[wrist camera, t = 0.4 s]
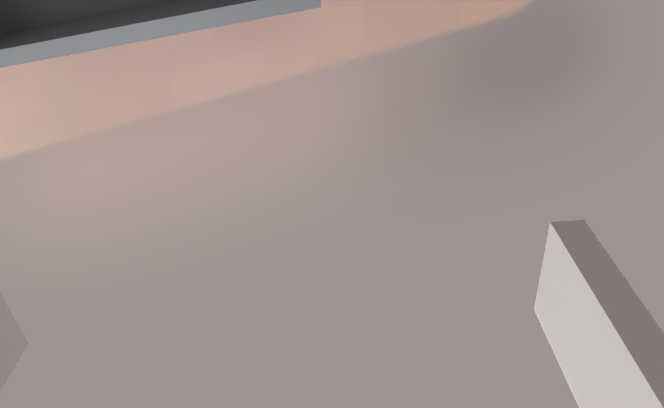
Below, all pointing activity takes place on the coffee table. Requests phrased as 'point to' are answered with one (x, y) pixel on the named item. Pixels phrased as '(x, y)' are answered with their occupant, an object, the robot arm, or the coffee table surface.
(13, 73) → the coffee table surface
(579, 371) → the robot arm
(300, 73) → the coffee table surface
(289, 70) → the coffee table surface
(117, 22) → the pantry crate
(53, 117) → the coffee table surface
